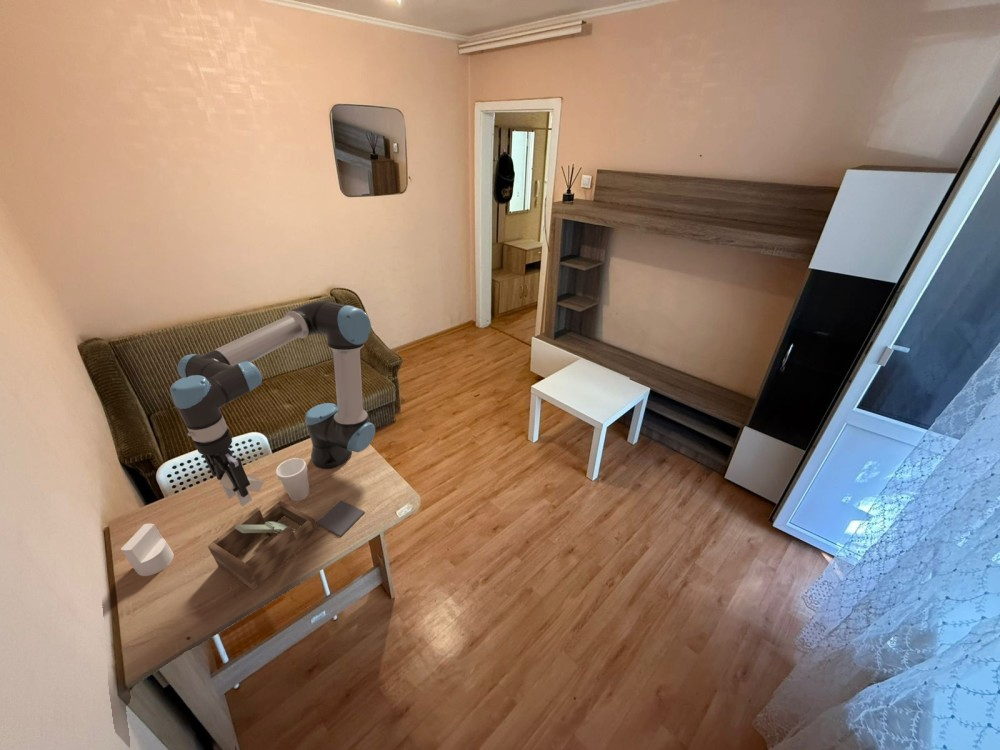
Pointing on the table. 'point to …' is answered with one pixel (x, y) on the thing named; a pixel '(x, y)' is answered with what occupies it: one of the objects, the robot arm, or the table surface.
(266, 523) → the bar
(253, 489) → the part
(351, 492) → the table surface
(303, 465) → the foam cup
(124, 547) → the base with upright slab
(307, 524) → the wooden box
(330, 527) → the mat
